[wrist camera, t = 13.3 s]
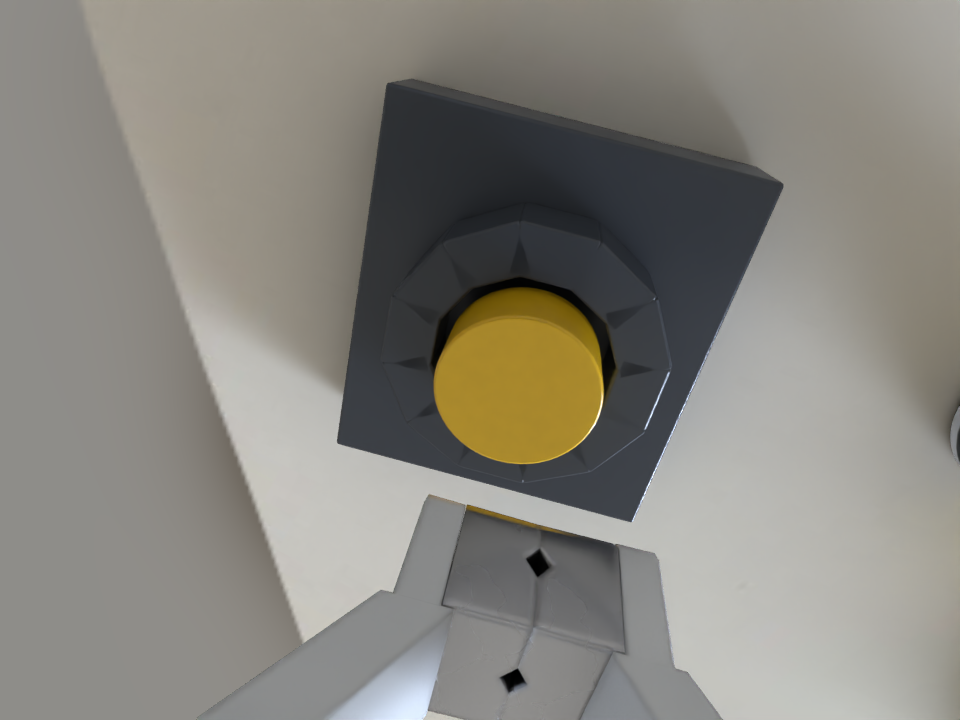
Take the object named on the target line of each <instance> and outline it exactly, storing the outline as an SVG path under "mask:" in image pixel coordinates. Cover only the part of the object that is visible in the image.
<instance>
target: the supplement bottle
mask: <svg viewBox="0 0 960 720" xmlns="http://www.w3.org/2000/svg"><path fill="white" fill-rule="evenodd" d="M950 442H951V448H952V452H953V455H954V457H955V459H956V461H957V463H958V464H959V466H960V406H959V408H958V410H957V412H956V414H955V416H954V419H953V422H952V426H951V433H950Z"/></svg>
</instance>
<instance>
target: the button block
mask: <svg viewBox="0 0 960 720" xmlns="http://www.w3.org/2000/svg"><path fill="white" fill-rule="evenodd" d="M782 189H783V184H782V183H781V182H780V181H778V180H777V179H775V178H773V177H772V176H770V175H769V174H767V173H766V172H764V171H762V170H761V169H759V168H758V167H755V166H751V165H747V164H743V163H740V162H736V161H732V160H728V159H724V158H720V157H716V156H712V155H708V154H704V153H700V152H697V151H693V150H689V149H685V148H681V147H677V146H673V145H669V144H665V143H661V142H657V141H654V140H650V139H646V138H642V137H638V136H634V135H630V134H626V133H622V132H618V131H614V130H611V129H607V128H603V127H599V126H595V125H591V124H587V123H583V122H579V121H575V120H571V119H568V118H564V117H560V116H556V115H552V114H548V113H544V112H540V111H536V110H532V109H528V108H525V107H521V106H517V105H513V104H509V103H505V102H501V101H497V100H493V99H489V98H485V97H482V96H478V95H474V94H470V93H466V92H462V91H458V90H454V89H450V88H446V87H442V86H439V85H435V84H431V83H427V82H423V81H419V80H415V79H408V80H402V81H396V82H391V83H388V84H387V85H386V92H385V99H384V106H383V114H382V121H381V128H380V135H379V142H378V150H377V157H376V164H375V171H374V178H373V186H372V193H371V200H370V207H369V214H368V222H367V229H366V236H365V243H364V250H363V258H362V265H361V272H360V279H359V286H358V294H357V301H356V308H355V315H354V322H353V330H352V337H351V344H350V351H349V358H348V366H347V373H346V380H345V387H344V394H343V402H342V409H341V416H340V423H339V430H338V438H337V443H338V444H341V445H344V446H348V447H352V448H356V449H359V450H363V451H367V452H370V453H374V454H378V455H382V456H385V457H389V458H393V459H397V460H400V461H404V462H408V463H411V464H415V465H419V466H423V467H426V468H430V469H434V470H438V471H441V472H445V473H449V474H453V475H456V476H460V477H464V478H467V479H471V480H475V481H479V482H482V483H486V484H490V485H494V486H497V487H501V488H505V489H509V490H512V491H516V492H520V493H523V494H527V495H531V496H535V497H538V498H542V499H546V500H550V501H553V502H557V503H561V504H564V505H568V506H572V507H576V508H579V509H583V510H587V511H591V512H594V513H598V514H602V515H606V516H609V517H613V518H617V519H620V520H624V521H628V522H633V520H634V518H635V516H636V514H637V511H638V509H639V507H640V505H641V502H642V500H643V498H644V496H645V494H646V491H647V489H648V487H649V485H650V482H651V480H652V478H653V476H654V474H655V471H656V469H657V467H658V465H659V462H660V460H661V458H662V456H663V454H664V451H665V449H666V447H667V445H668V443H669V440H670V438H671V436H672V434H673V431H674V429H675V427H676V425H677V423H678V420H679V418H680V416H681V414H682V411H683V409H684V407H685V405H686V403H687V400H688V398H689V396H690V394H691V391H692V389H693V387H694V385H695V383H696V380H697V378H698V376H699V374H700V371H701V369H702V367H703V365H704V363H705V360H706V358H707V356H708V354H709V351H710V349H711V347H712V345H713V343H714V340H715V338H716V336H717V334H718V331H719V329H720V327H721V325H722V323H723V320H724V318H725V316H726V314H727V311H728V309H729V307H730V305H731V303H732V300H733V298H734V296H735V294H736V291H737V289H738V287H739V285H740V283H741V280H742V278H743V276H744V274H745V271H746V269H747V267H748V265H749V263H750V260H751V258H752V256H753V254H754V251H755V249H756V247H757V245H758V243H759V240H760V238H761V236H762V234H763V231H764V229H765V227H766V225H767V223H768V220H769V218H770V216H771V214H772V211H773V209H774V207H775V205H776V203H777V200H778V198H779V196H780V194H781V191H782ZM512 287H530V288H537V289H542V290H545V291H548V292H551V293H554V294H556V295H558V296H560V297H562V298H564V299H566V300H567V301H569V302H570V303H572V304H573V305H574V306H575V307H576V308H578V309H579V310H580V311H581V312H582V313H583V315H584V316H585V317H586V318H587V319H588V321H589V322H590V324H591V325H592V327H593V329H594V331H595V333H596V336H597V339H598V342H599V346H600V352H601V363H602V375H603V386H604V398H603V405H602V409H601V412H600V416H599V418H598V420H597V422H596V424H595V426H594V427H593V429H592V430H591V432H590V433H589V434H588V435H587V437H586V438H585V439H584V440H583V441H582V442H581V443H580V444H578V445H577V446H576V447H575V448H573V449H572V450H570V451H569V452H567V453H565V454H563V455H561V456H559V457H557V458H554V459H551V460H548V461H544V462H540V463H532V464H513V463H505V462H501V461H496V460H493V459H490V458H487V457H485V456H483V455H481V454H478V453H477V452H475V451H473V450H471V449H470V448H468V447H467V446H466V445H464V444H463V443H462V442H460V441H459V440H458V439H457V438H456V437H455V436H454V435H453V434H452V432H451V431H450V430H449V429H448V427H447V426H446V424H445V423H444V421H443V420H442V417H441V415H440V413H439V411H438V408H437V405H436V402H435V397H434V388H433V381H434V373H435V369H436V366H437V362H438V360H439V358H440V355H441V353H442V351H443V349H444V346H445V344H446V342H447V339H448V337H449V335H450V333H451V330H452V328H453V326H454V324H455V322H456V321H457V319H458V318H459V316H460V315H461V314H462V313H463V312H464V310H465V309H466V308H467V307H468V306H470V305H471V304H472V303H473V302H475V301H476V300H478V299H479V298H481V297H483V296H485V295H487V294H489V293H491V292H494V291H497V290H501V289H506V288H512Z"/></svg>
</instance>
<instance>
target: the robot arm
mask: <svg viewBox="0 0 960 720" xmlns="http://www.w3.org/2000/svg"><path fill="white" fill-rule="evenodd" d="M465 506H466V505H464V504H461V503H458V502H454V501H451V500H447V499H444V498H440V497H437V496H433V495H430V494H429V495H428V497H427V498H426V500H425V502H424V504H423V507H422V510H421V513H420V516H419V519H418V522H417V524H416V527H415V530H414V533H413V536H412V539H411V542H410V545H409V548H408V551H407V553H406V556H405V559H404V562H403V565H402V568H401V571H400V574H399V577H398V580H397V582H396V585H395V588H394V591H393V593H392V592H388V591H384V590H380V591H378V592H377V593H376V594H374V595H373V596H371V597H370V598H368V599H367V600H365V601H364V602H363V603H361V604H360V605H358V606H357V607H355V608H354V609H352V610H351V611H350V612H348V613H347V614H345V615H344V616H342V617H341V618H340V619H338V620H337V621H335V622H334V623H332V624H331V625H329V626H328V627H327V628H325V629H324V630H322V631H321V632H319V633H318V634H316V635H315V636H314V637H312V638H311V639H309V640H308V641H306V642H305V643H304V644H302V645H301V646H299V647H298V648H296V649H295V650H293V651H292V652H291V653H289V654H288V655H286V656H285V657H283V658H282V659H280V660H279V661H278V662H276V663H275V664H273V665H272V666H270V667H269V668H268V669H266V670H265V671H263V672H262V673H260V674H259V675H257V676H256V677H255V678H253V679H252V680H250V681H249V682H248V683H246V684H245V685H243V686H242V687H240V688H239V689H237V690H236V691H234V692H233V693H232V694H230V695H229V696H227V697H226V698H224V699H223V700H222V701H220V702H219V703H217V704H216V705H214V706H213V707H211V708H210V709H208V710H207V711H206V712H204V713H203V714H201V715H200V716H198V717H197V719H196V720H422V719H423V718H424V717H425V716H426V714H427V711H431V712H435V713H439V714H443V715H448V716H452V717H456V718H460V719H464V720H723V719H722V718H721V716H720V715H719V714H718V712H717V711H716V710H715V708H714V707H713V705H712V704H711V703H710V701H709V700H708V699H707V697H706V696H705V695H704V693H703V692H702V691H701V689H700V688H699V687H698V685H697V684H696V683H695V681H694V680H693V678H692V677H691V676H690V674H689V673H688V672H685V671H682V670H679V669H675V665H674V658H673V651H672V644H671V638H670V631H669V624H668V618H667V611H666V604H665V597H664V591H663V584H662V577H661V570H660V564H659V559H658V558H657V556H656V555H655V553H651V552H647V551H643V550H639V549H635V548H631V547H627V546H623V545H619V544H616V545H614V544H612V543H608V542H604V541H600V540H596V539H593V538H589V537H585V536H581V535H577V534H573V533H569V532H565V531H561V530H557V529H553V528H549V527H545V526H541V525H537V524H534V523H530V522H527V521H523V520H520V519H516V518H513V517H509V516H506V515H502V514H499V513H495V512H492V511H488V510H485V509H481V508H478V507H474V506H471V505H467V507H466V511H465ZM464 512H465V514H464ZM463 516H464V518H463ZM462 520H463V522H462ZM461 524H462V525H461ZM460 528H461V529H460ZM459 532H460V533H459ZM458 536H459V537H458ZM457 540H458V541H457ZM456 544H457V545H456ZM455 548H456V549H455ZM454 552H455V553H454ZM453 556H454V557H453ZM452 560H453V561H452Z"/></svg>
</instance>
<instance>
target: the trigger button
mask: <svg viewBox="0 0 960 720" xmlns="http://www.w3.org/2000/svg"><path fill="white" fill-rule="evenodd" d="M433 388H434V397H435V402H436V405H437V408H438V411H439V413H440V415H441V417H442V420H443V421H444V423H445V424H446V426H447V427H448V429H449V430H450V431H451V432H452V434H453V435H454V436H455V437H456V438H457V439H458V440H459V441H460V442H462V443H463V444H464V445H466V446H467V447H468V448H470V449H471V450H473V451H475V452H477V453H478V454H481V455H483V456H485V457H487V458H490V459H493V460H496V461H501V462H505V463H513V464H532V463H540V462H544V461H548V460H551V459H554V458H557V457H559V456H561V455H563V454H565V453H567V452H569V451H570V450H572V449H573V448H575V447H576V446H577V445H578V444H580V443H581V442H582V441H583V440H584V439H585V438H586V437H587V435H588V434H589V433H590V432H591V430H592V429H593V427H594V426H595V424H596V422H597V420H598V418H599V416H600V412H601V409H602V405H603V398H604V386H603V375H602V363H601V352H600V346H599V342H598V339H597V336H596V333H595V331H594V329H593V327H592V325H591V324H590V322H589V321H588V319H587V318H586V317H585V316H584V315H583V313H582V312H581V311H580V310H579V309H578V308H576V307H575V306H574V305H573V304H572V303H570V302H569V301H567V300H566V299H564V298H562V297H560V296H558V295H556V294H554V293H551V292H548V291H545V290H542V289H537V288H530V287H512V288H506V289H501V290H497V291H494V292H491V293H489V294H487V295H485V296H483V297H481V298H479V299H478V300H476V301H475V302H473V303H472V304H471V305H470V306H468V307H467V308H466V309H465V310H464V312H463V313H462V314H461V315H460V316H459V318H458V319H457V321H456V322H455V324H454V326H453V328H452V330H451V333H450V335H449V337H448V339H447V342H446V344H445V346H444V349H443V351H442V353H441V355H440V358H439V360H438V362H437V366H436V369H435V373H434V381H433Z"/></svg>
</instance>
